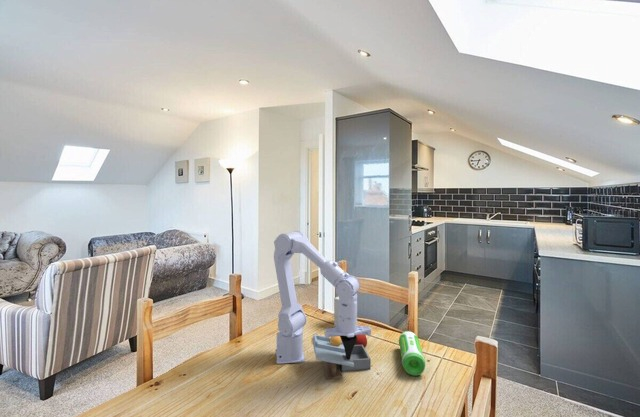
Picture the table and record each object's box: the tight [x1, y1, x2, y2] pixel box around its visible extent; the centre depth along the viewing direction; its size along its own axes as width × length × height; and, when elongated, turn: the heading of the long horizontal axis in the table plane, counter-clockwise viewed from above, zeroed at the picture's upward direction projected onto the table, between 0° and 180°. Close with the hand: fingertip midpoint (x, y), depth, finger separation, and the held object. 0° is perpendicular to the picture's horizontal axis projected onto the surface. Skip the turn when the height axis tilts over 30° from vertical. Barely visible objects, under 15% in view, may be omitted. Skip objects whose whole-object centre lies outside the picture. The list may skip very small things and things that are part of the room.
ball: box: [329, 336, 342, 347], centre depth 100 cm, size 4×4×4 cm
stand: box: [321, 361, 344, 380], centre depth 98 cm, size 5×10×5 cm, turn 8°
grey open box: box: [339, 345, 372, 373], centre depth 102 cm, size 10×10×4 cm
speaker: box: [398, 330, 426, 376], centre depth 102 cm, size 18×7×8 cm, turn 169°
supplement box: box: [333, 296, 339, 328], centre depth 130 cm, size 7×7×13 cm
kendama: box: [355, 334, 368, 349], centre depth 117 cm, size 8×6×18 cm
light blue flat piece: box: [311, 333, 354, 367], centre depth 97 cm, size 12×13×2 cm
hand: (347, 357), depth 95 cm, fingers closed
